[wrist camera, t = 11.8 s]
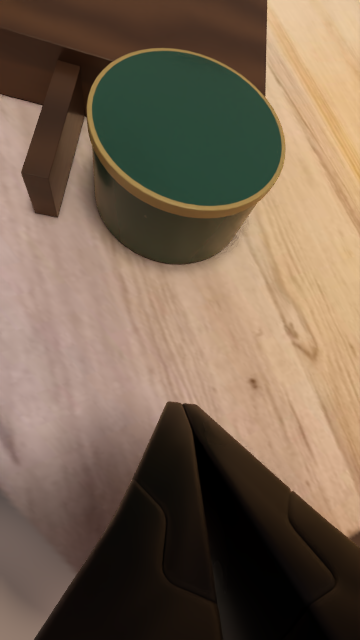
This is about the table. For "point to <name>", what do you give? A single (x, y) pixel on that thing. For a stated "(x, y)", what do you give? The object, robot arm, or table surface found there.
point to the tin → (179, 152)
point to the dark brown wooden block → (107, 62)
